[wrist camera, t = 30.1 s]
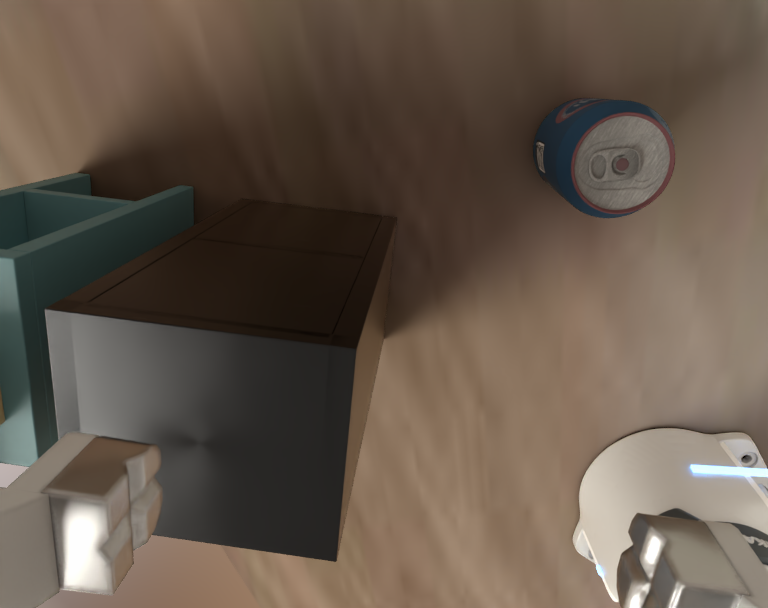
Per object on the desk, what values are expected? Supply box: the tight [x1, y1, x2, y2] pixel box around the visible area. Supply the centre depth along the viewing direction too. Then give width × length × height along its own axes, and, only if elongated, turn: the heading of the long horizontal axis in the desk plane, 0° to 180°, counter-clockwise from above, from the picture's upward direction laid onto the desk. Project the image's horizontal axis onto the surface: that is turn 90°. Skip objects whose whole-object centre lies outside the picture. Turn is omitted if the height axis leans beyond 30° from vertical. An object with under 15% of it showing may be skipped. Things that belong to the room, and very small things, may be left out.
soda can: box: [533, 98, 675, 218], centre depth 39 cm, size 7×7×12 cm
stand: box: [0, 173, 194, 467], centre depth 40 cm, size 12×10×22 cm
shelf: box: [44, 199, 397, 562], centre depth 38 cm, size 11×13×26 cm
